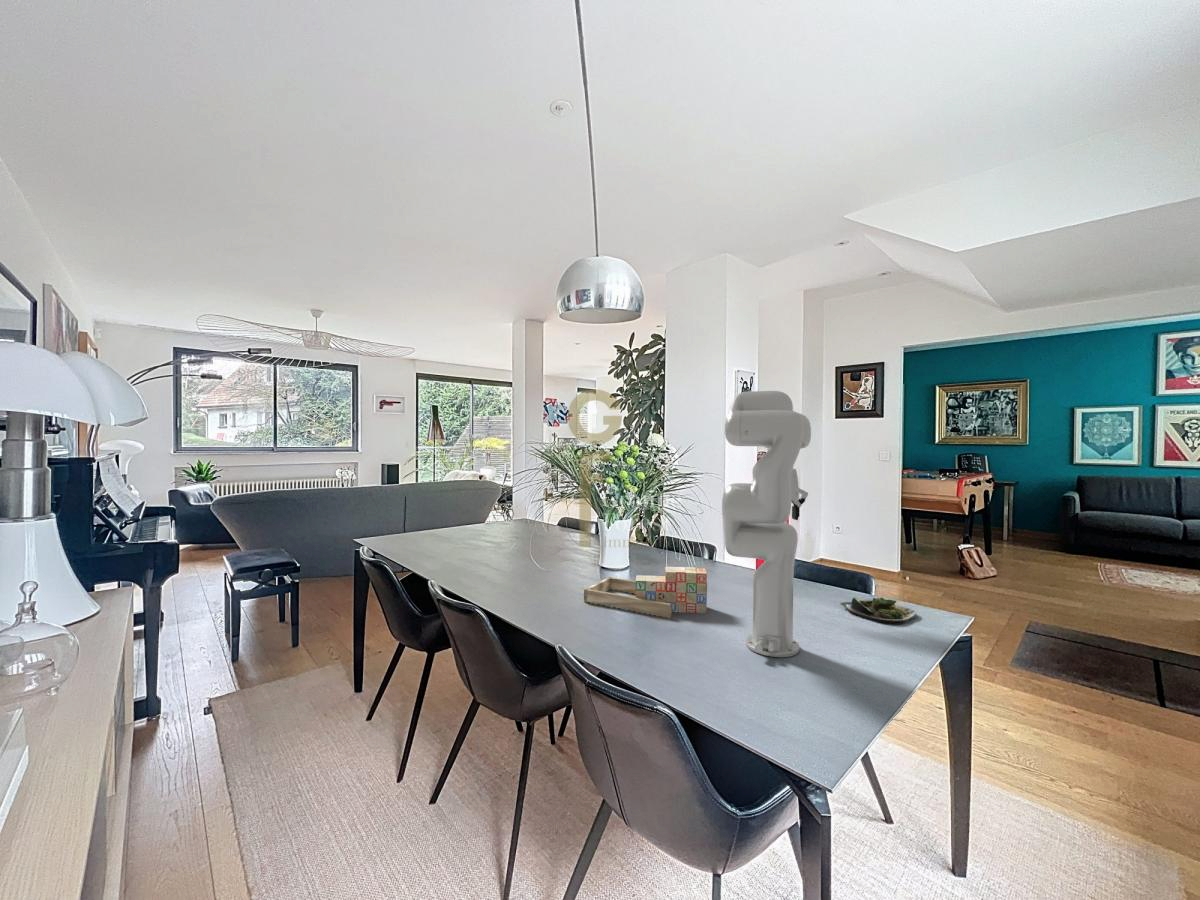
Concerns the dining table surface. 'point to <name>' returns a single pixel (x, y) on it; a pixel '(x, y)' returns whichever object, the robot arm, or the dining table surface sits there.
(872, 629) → the dining table surface
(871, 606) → the salad plate
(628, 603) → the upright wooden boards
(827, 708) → the dining table surface
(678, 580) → the stack of blocks
